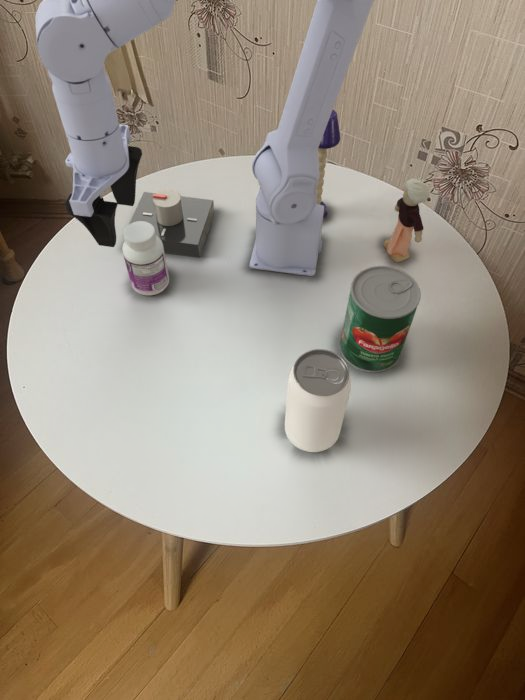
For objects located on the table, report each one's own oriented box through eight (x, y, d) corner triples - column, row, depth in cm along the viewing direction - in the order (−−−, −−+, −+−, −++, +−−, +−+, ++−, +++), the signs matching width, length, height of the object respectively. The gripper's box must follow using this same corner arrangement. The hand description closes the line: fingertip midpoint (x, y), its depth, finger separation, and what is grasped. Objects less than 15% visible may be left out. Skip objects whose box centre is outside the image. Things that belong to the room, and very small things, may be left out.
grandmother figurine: (372, 241, 85) (388, 169, 74) (393, 233, 86) (412, 161, 75) (402, 274, 81) (423, 204, 70) (424, 266, 82) (447, 195, 71)
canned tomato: (359, 381, 70) (374, 326, 61) (328, 336, 74) (338, 277, 65) (412, 359, 72) (434, 303, 63) (379, 316, 76) (396, 257, 67)
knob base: (214, 212, 88) (213, 199, 86) (199, 257, 82) (197, 244, 80) (146, 204, 89) (143, 190, 87) (126, 248, 83) (123, 234, 81)
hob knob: (186, 209, 85) (183, 189, 82) (179, 227, 82) (176, 207, 79) (160, 206, 85) (156, 185, 82) (152, 224, 83) (148, 203, 80)
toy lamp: (300, 201, 90) (308, 102, 76) (330, 202, 90) (343, 103, 76) (300, 221, 87) (308, 122, 74) (330, 222, 87) (344, 124, 74)
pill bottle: (132, 270, 81) (119, 217, 73) (169, 267, 81) (160, 215, 73) (130, 298, 78) (116, 247, 70) (169, 296, 78) (159, 244, 70)
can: (336, 458, 64) (350, 404, 54) (279, 448, 65) (283, 392, 55) (342, 410, 68) (357, 351, 58) (289, 400, 68) (294, 340, 59)
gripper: (80, 85, 65) (105, 183, 76) (28, 162, 56) (65, 259, 67) (139, 91, 64) (156, 189, 75) (96, 169, 56) (122, 267, 67)
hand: (117, 223), depth 71 cm, fingers open, 7 cm apart
